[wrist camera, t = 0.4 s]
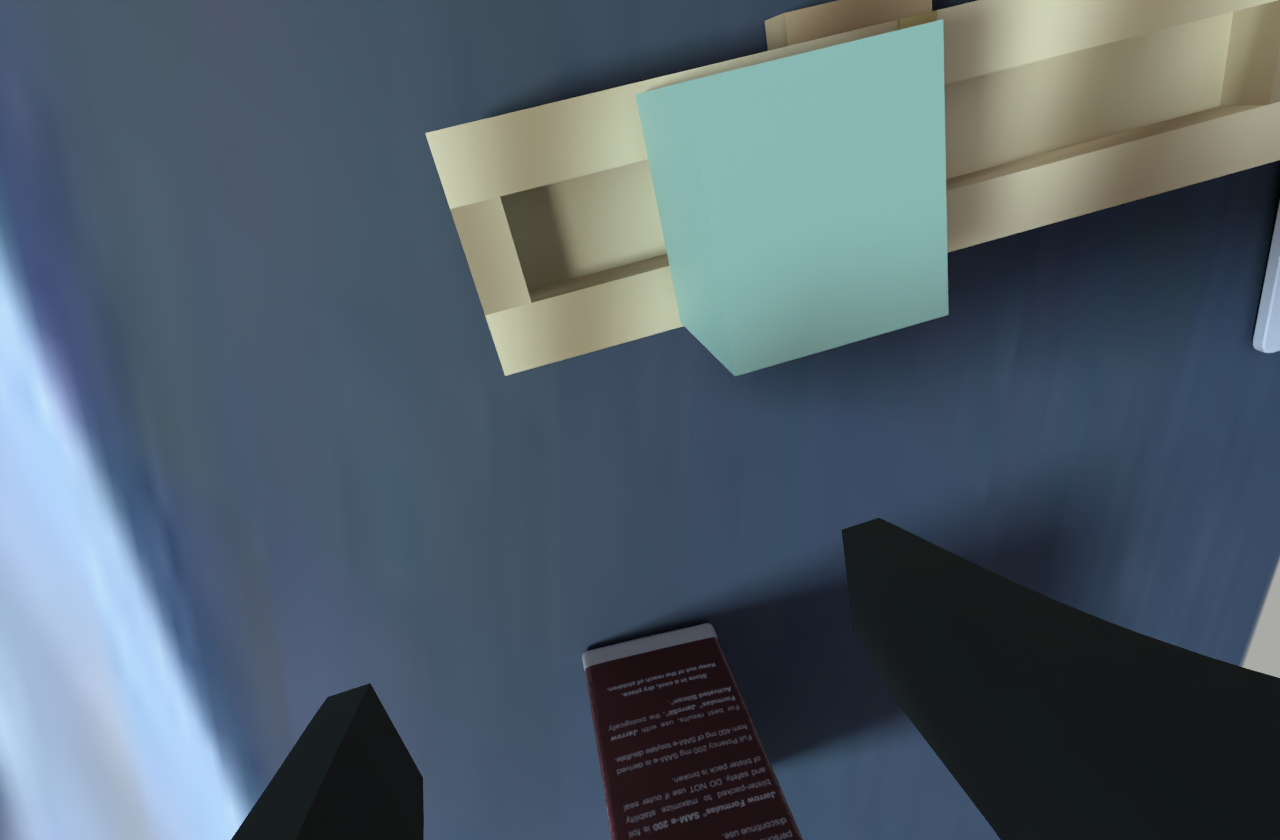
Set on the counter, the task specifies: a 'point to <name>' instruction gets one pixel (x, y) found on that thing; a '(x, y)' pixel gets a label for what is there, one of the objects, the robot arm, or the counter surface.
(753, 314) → the block
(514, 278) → the beam
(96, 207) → the counter surface
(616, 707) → the supplement box
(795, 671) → the counter surface
